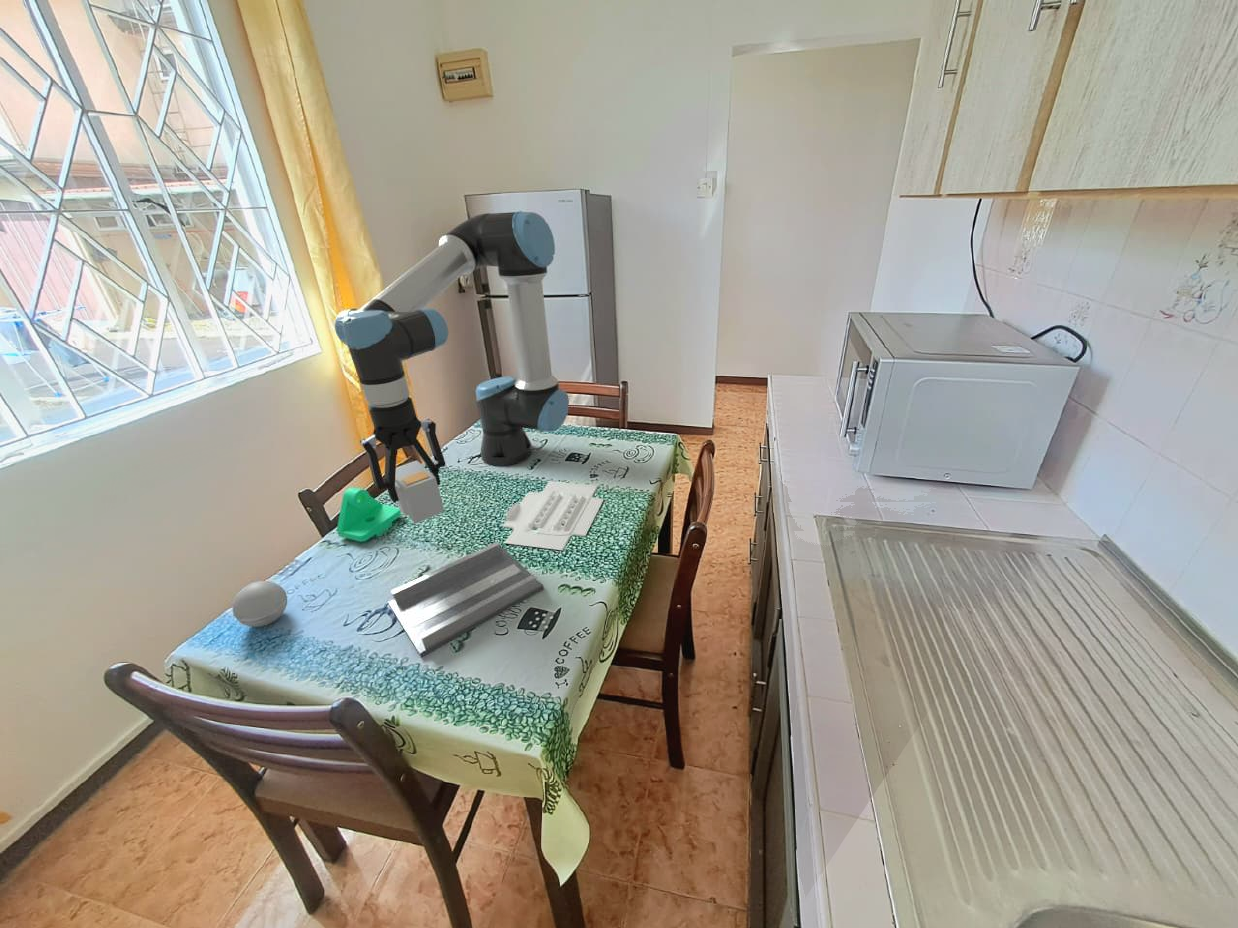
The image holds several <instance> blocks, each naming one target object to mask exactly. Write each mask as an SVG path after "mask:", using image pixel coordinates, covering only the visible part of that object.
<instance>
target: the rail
mask: <svg viewBox="0 0 1238 928" xmlns="http://www.w3.org/2000/svg"><path fill="white" fill-rule="evenodd" d="M537 578H538V577H537V576H536V575H535V574H533V573H531V572H530V571H528V569H526V568H525V567H524V566H523V565H522V564H521V563H520V562H519V561H518V560H517V559H516V558H514V557H513V556H512V555H511V554H510V553H509V552H508V551H507V550H506V549H505V548H504V547H502V546H501V542H499V541H495V542H494V543H491V544H489V545H487V546H484V547H483V548H480V549H478V550H477V551H474V552H472V553H470V554H467V555H465V556H464V557H461V558H458V559H457V560H455V561H453V562H450V563H448V564H446V565H444V566H441V567H439V568H437V569H435V570H433V571H430V572H429V573H427V574H424V575H421V576H420V577H418V578H416V579H414V580H411V581H410V582H408V583H404V584H403V585H401V586H399V587H396V588H394V589H392V590H390V591H391V595H392V597H393V599H392V600H390V601H388V605H389V607H390V608H391V611H392V612H393V614H394V616H395V617H396V619H397V620H398V622H399V624H400V626H401V627H402V629H403V630H404V632H405V633H406V636H407V637H408V638H409V641H410V642H411V644H412V645H413V647H414V649H415V650H416V652H417V653H418V655H419V657H420V658H423V657H425V656H427V655H428V654H430V653H432V652H434V651H436V650H437V649H438V650H439V648H441V647H443V646H445V645H446V644H448V643H450V642H451V641H453V640H455V639H457V638H459V637H461V636H463V635H464V634H466V633H468V632H470V631H471V630H474V629H475V628H477V627H479V626H481V625H482V624H484V623H486V622H488V621H490V620H492V619H493V618H495V617H497V616H499V615H500V614H502V613H504V612H506V611H507V610H509V609H511V608H513V607H515V606H517V605H519V604H520V603H522V602H524V601H525V600H527V599H529V598H530V597H533V596H534V595H536V594H538V593H540V592H541V591H543V590H544V589H545V588H544V584H543V583H542V582H540V581H539V579H537Z"/></svg>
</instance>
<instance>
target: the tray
mask: <svg viewBox="0 0 1238 928" xmlns="http://www.w3.org/2000/svg"><path fill="white" fill-rule="evenodd" d="M598 487H599V486H598V485H596V484H587V483H586V484H583V483H577V482H576V483H575V482H574V483H573V482H565V481H563V482H562V481H551V480H550V481H548V483H547V484H546V486H545V487H544V488H543V490H542V491H540V492H534V491H528V492H527V493H526V495H525V496H524V497H523V499H522V500H521V501H520V502H519V503H518V502H517V503H514V504H513V505H512V506H511V507H509V509H508V510H507V511H506V513H505V514H506V516H505V521H504V523H503V524H502V528H506V529H507V528H508V529H513V531H512V532H511V533H510V535H509V536H508V537H507V539H506V540H505V542H504V543H503V545H505V544H510V545H517V546H525V547H531V548H532V547H533V548H542V549H550V550H555V551H556V550H557V551H558V550H559V551H562V552H563V551H564V549H565V548H566V546H567V544H568V542H569V541H570V539H571V537H573V536H579V537H584V538H585V537H586V536H587V533H588V531H589V530H590V527H591V525H592V524H593V521H594V519H595V518H596V515H597V513H598V511H599V509H600V508H601V506H602V504H603V502H604V501H605V498H597V497H594V495H595V493H596V491H597V489H598ZM533 528H535V529H533Z"/></svg>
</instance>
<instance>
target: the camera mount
mask: <svg viewBox="0 0 1238 928" xmlns="http://www.w3.org/2000/svg"><path fill="white" fill-rule="evenodd" d="M401 516H402V512H401V511H400V509H399V507H396V506H395V507H394V506H391V505H386V504H383V503H382V502H379V501H378V500H376V499H375V498H374V497H373V496H372V495H370V493H369V492H368V490H366V489H362V488H358V487H349V488H347V489H346V490H345V492H344V493H343V496H342V500H341V506H340V511H339V516H338V520H337V521H338V522H337V526H336V527H337V528H336V532H337V533H336V534H338V537H341V538H345V539H347V540H348V539H349V540H353V541H356V542H360V543H361V542H363V543H364V542H366V541H368V540H369V539H371V538H372V537H379V536H380V535H382V534H383V533H384V532H386V531H387V530H389V529H390V528H392V527H393V522H394V521H396V520H398V518H400V517H401Z"/></svg>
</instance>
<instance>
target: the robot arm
mask: <svg viewBox="0 0 1238 928" xmlns="http://www.w3.org/2000/svg"><path fill="white" fill-rule="evenodd" d="M555 245H556V244H555V239H554V235H553V232H552V229H551V227H550V226H549V224H548V222H547V221H546V219H545V218H544V217H543V216H542V215H540V214H539V213H536V212H532V211H513V212H512V211H511V212H494V213H493V212H492V213H481V214H476V215H475V216H472V217H470V218H468V219H467V220H464V221H463V222H461V223H460V224H458V225H457V226H455V227H454V228H452V229H451V230H450V231H448V232H447V233H445V234H444V235H443V236H441V238H440V239H439V242H438V246H437V247H436V248H435V249H434V250H432V251H431V252H430V253H428V254H427V255H426V256H425V257H423V258H422V259H421V260H420V261H418V262H417V263H416V264H415V265H413V266H412V267H411V268H409V270H407V271H406V272H404V273H403V274H402V275H401V276H400V277H398V278H397V279H396V280H394V281H393V282H392V283H390V285H388V286H387V287H386V288H384V289H383V290H382V291H381V292H379V293H378V294H377V295H375V297H373V298H372V299H370V300H369V301H368V302H367V303H365V304H364V305H363V306H361V307H360V308H349V309H344V310H342V311H341V312H339V313H338V314H337V316H336V318H335V321H334V331H335V334H336V336H337V337H338V339H339V340H340V341H341V342H342V343H343V344H344V345H346V346H347V348H348V351H349V354H350V357H351V359H352V363H353V365H354V368H355V372H356V374H357V378H358V380H359V385H360V387H361V390H362V393H363V396H364V399H365V402H366V404H367V406H368V407H367V408H368V412H369V415H370V418H371V422H372V425H373V433H372V435H371V436H369V437H367V438H362V439H360V440H359V444H360V445H361V446H362V448H363V449H364V451H365V454H366V459H367V460H368V461H367V462H368V465H369V469H370V473H371V476H372V482H373V484H374V485H375V487H376V488H377V490H383V489H386V490H387V493H388V496H389V498H390V500H391V501H392V502H393V503H396V502H397V505H398V508H399V509H400V512H401V514H402V515H403V516H405V517H406V516H408V512H407V509H406V505H405V502H404V499H403V496H402V493H401V490H400V487H399V486H398V485H397V483H396V482H395V474H396V467H397V456H398V453H399V452H398V451H399V450H400V449H403V448H404V447H409V446H410V447H412V448H413V449H414V451H415V453H417V455H418V456H419V458H420V459H421V461H423V464H425V466H426V468H427V470H428V471H429V472H430V473H431V474H432V475H433V476H434V477H435V478H436V481H437V485H438V486H440V485H441V479H440V475H439V473H440V468H443V467H445V466H446V461H445V458H444V457H445V456H444V455H443V451H442V448H441V445H440V443H439V440H438V436H437V433H436V430H437V429H436V427H437V425H436V424H437V423H436V422H434V421H433V420H432V419H430V418H426V420H420V419H419V418H418V417H417V414H416V411H415V410H416V409H415V406H414V404H413V403H414V402H413V399H412V397H410V395H411V392H410V388H409V385H408V381H407V378H406V375H405V374H406V373H405V369H404V365H403V361H406V360H409V359H412V358H415V357H416V356H419V355H422V354H426V353H428V352H430V351H431V352H433V351H434V350H435V349H436V350H437V348H439V347H442V346H444V345H445V344H446V342H447V341H448V338H449V329H448V324H447V322H446V319H445V318H444V316H442V314H440V312H438V311H437V310H436V309H433V308H429V307H428V308H426V307H427V306H428V305H429V304H431V303H432V302H433V301H434V300H435V299H437V297H438V296H440V295H441V294H442V293H443V292H445V290H446V289H448V288H449V287H450V286H451V285H452V284H454V282H455V281H456V280H458V279H459V278H460V277H461V276H467V275H470V274H471V273H473V272H474V271H475V270H477V269H481V268H486V267H497V271H498V276H499V277H500V278H501V280H502V281H504V282H505V284H506V288H507V295H508V296H507V297H508V305H509V310H510V317H511V324H512V325H511V326H512V333H513V340H514V346H515V347H514V348H515V353H516V361H517V362H516V363H517V370H518V375H519V378H518V379H516V378H515V377H514V376H500V377H495V378H492V379H489V380H488V379H487V380H485V381H483V382H480V383H479V384H478V385H477V386H476V389H475V395H476V400H475V401H476V403H477V409H478V412H479V418H480V424H481V428H482V440H481V446H480V456H481V460H482V461H483V463H485V464H487V465H491V466H499V467H501V466H511V465H514V464H515V465H516V464H518V463H521V462H523V461H525V460H527V459H529V458H530V457H531V456H532V455H533V445H532V442H531V441H530V439H529V437H528V435H527V433H526V431H525V429H530V430H535V431H540V432H555V431H557V430H558V429H560V428H561V427H562V426H563V424H564V422H565V421H566V418H567V416H568V413H569V408H570V407H569V406H570V398H569V395H568V393H567V392H566V390H564V389H560V387H559V379H558V378H557V377H555V376H554V375H553V374H552V373H553V372H552V365H551V364H552V363H551V356H550V355H551V354H550V346H549V336H548V327H547V325H548V324H547V316H546V306H545V299H544V298H545V297H544V288H543V280H544V278H545V277H546V276H547V275H548V268H547V267H548V266H550V265H551V264H552V262H553V261H554V258H555V257H554V255H555V253H556V246H555ZM420 429H422V431H424V432H425V436H426V440H427V442H428V445H429V448H430V450H431V453H432V456H433V459H434V461H433V460H432V458H431V457H430V456H429V454H428V453H427V452H426V450H425V448H424V447H423V446H422V444H421V442H420V441H419V439H418V435H419V432H420ZM377 442H380V443H381V444H383V445H384V451H385V457H384V458H385V460H384V478H383V475H382V470H381V467H380V466H381V465H380V463H379V458H378V455H377V451H376V449H377V447H378V446H377Z"/></svg>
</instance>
